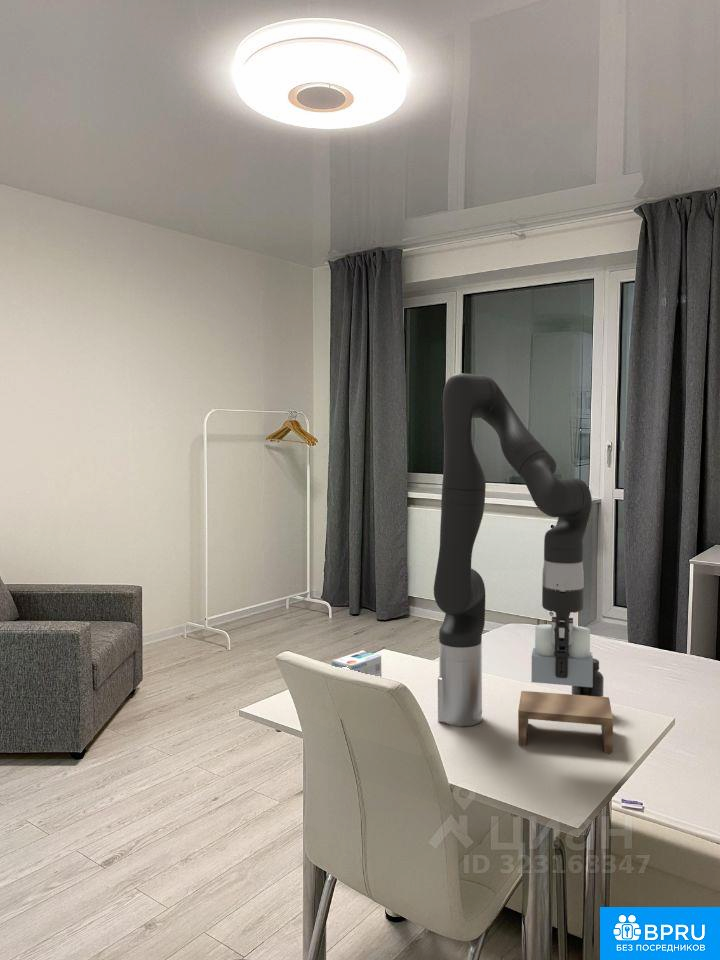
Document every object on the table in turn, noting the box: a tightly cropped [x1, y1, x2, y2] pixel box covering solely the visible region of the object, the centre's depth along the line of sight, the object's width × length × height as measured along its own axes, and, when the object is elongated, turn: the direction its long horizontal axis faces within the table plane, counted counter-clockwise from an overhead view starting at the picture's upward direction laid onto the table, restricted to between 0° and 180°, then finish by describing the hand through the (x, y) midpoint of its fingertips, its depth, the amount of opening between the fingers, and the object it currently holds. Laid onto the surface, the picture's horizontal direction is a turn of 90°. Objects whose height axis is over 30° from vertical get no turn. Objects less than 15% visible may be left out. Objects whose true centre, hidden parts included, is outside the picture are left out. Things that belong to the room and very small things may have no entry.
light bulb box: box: [331, 650, 383, 677], centre depth 173 cm, size 11×7×11 cm, turn 136°
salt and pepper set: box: [531, 623, 594, 687], centre depth 139 cm, size 11×6×10 cm, turn 74°
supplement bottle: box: [571, 657, 605, 697], centre depth 164 cm, size 7×7×12 cm
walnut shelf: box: [517, 690, 614, 754], centre depth 151 cm, size 18×12×7 cm, turn 75°
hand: (561, 671), depth 140 cm, fingers closed on salt and pepper set, 5 cm apart
